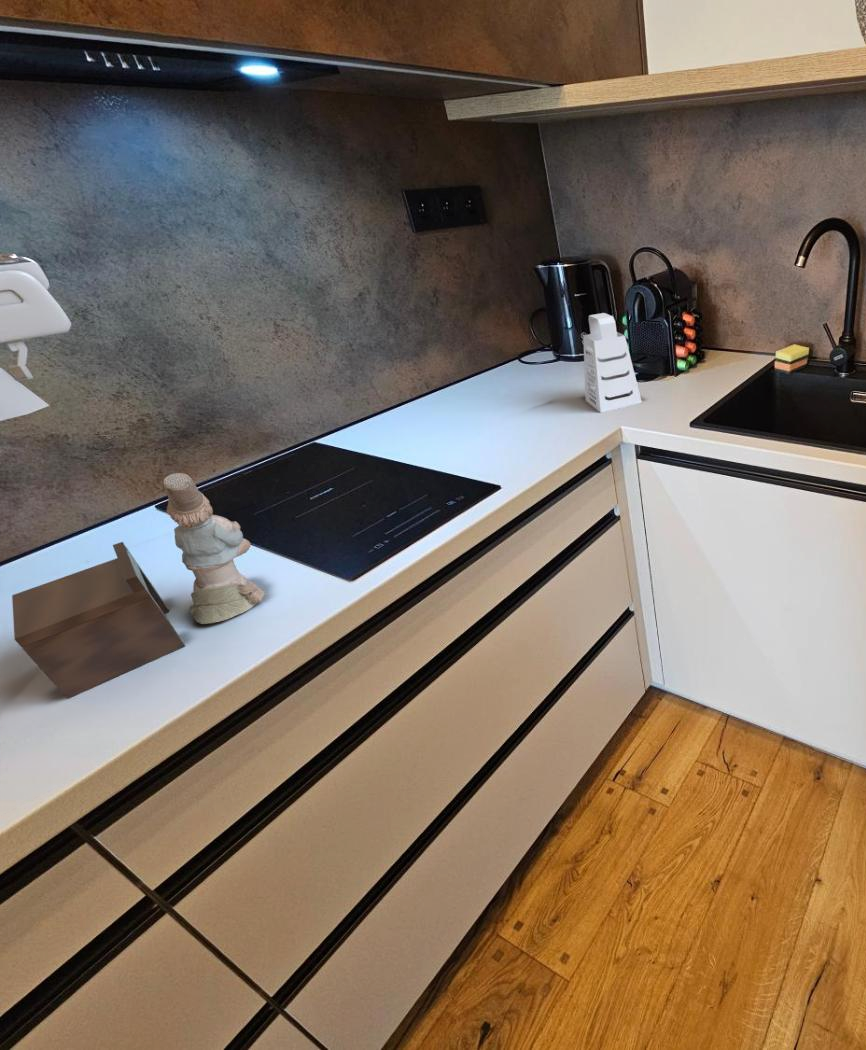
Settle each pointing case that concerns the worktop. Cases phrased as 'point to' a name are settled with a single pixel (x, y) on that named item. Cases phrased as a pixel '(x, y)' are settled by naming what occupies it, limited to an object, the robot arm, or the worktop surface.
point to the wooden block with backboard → (94, 624)
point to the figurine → (209, 553)
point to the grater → (608, 366)
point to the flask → (16, 398)
